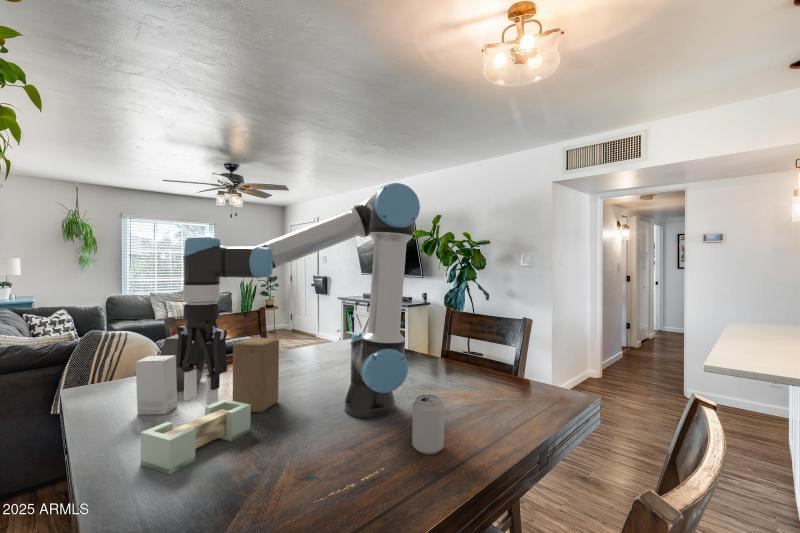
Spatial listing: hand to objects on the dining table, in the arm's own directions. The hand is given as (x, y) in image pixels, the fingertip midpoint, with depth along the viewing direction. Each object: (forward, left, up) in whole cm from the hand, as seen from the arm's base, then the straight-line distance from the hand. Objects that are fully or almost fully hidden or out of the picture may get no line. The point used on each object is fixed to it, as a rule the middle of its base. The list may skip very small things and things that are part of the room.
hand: (200, 400), depth 90 cm
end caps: (0, 0, -11) cm, 11 cm away
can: (-49, -22, -11) cm, 55 cm away
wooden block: (+7, -25, -11) cm, 28 cm away
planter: (+44, -29, -11) cm, 54 cm away
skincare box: (+30, -10, -11) cm, 34 cm away
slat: (0, 0, -10) cm, 10 cm away
